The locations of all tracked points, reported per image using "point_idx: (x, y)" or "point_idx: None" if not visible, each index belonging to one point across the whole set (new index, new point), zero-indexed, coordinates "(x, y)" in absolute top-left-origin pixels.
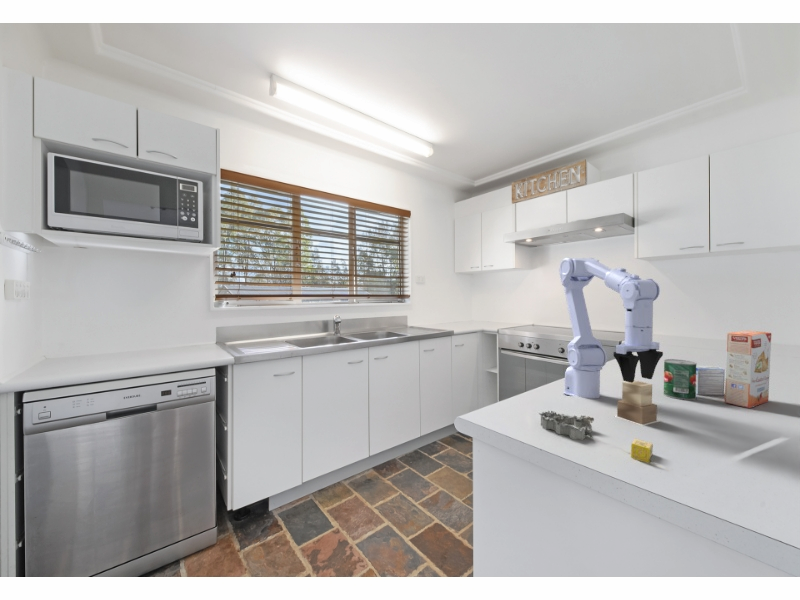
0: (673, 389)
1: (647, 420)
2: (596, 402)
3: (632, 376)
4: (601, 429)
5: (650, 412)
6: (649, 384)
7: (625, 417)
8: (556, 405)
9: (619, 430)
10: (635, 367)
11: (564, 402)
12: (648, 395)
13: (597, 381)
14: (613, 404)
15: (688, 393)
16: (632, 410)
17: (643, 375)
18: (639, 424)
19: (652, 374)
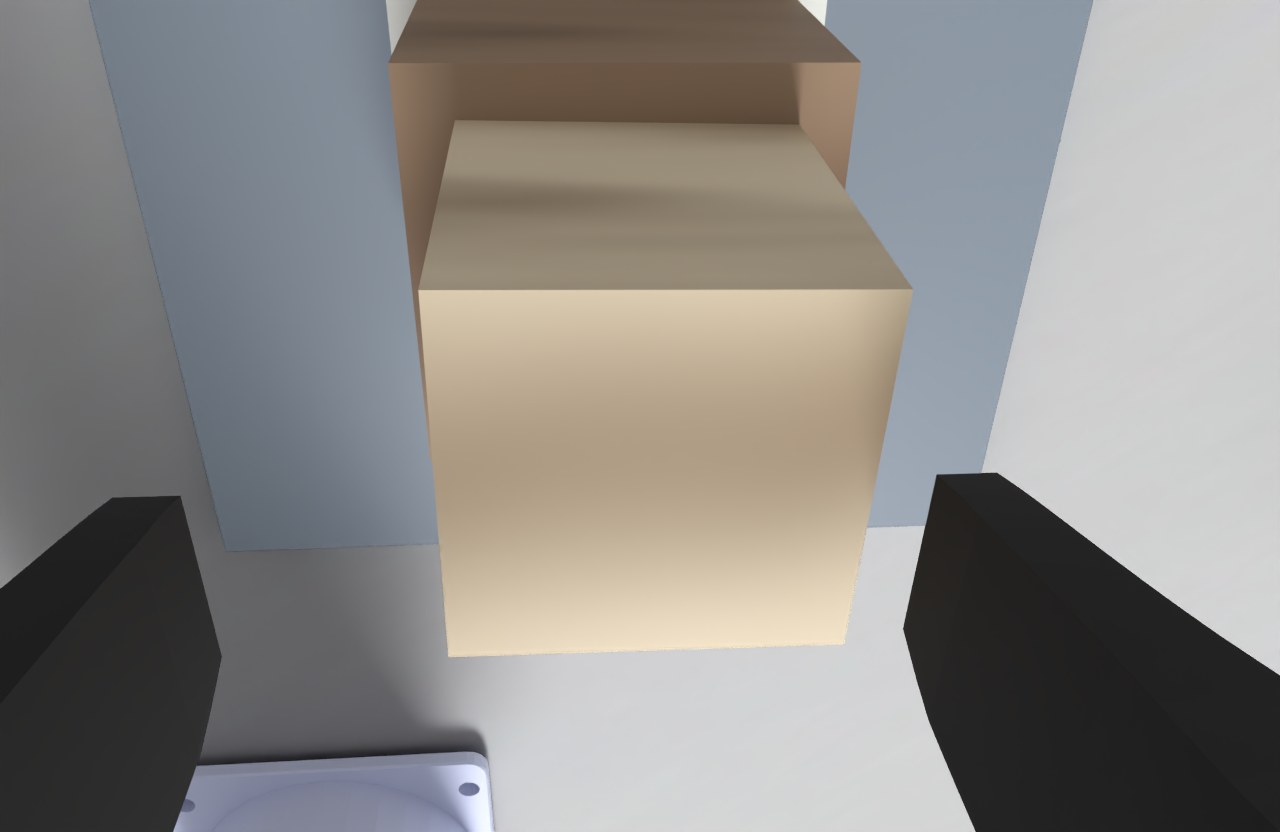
0: None
1: (667, 8)
2: (408, 722)
3: (1108, 556)
4: (1276, 185)
5: (600, 32)
6: (498, 315)
7: None
8: (899, 777)
9: (1143, 68)
10: (1238, 743)
11: (738, 807)
12: (576, 186)
13: None
14: (271, 630)
15: None
16: None
17: (194, 677)
18: (823, 21)
19: (82, 561)
